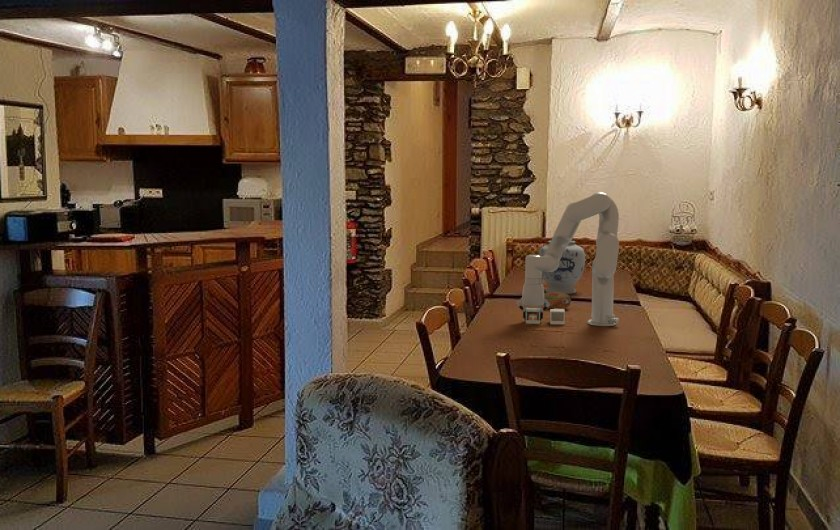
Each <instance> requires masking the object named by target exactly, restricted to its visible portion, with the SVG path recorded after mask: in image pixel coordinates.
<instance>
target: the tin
mask: <svg viewBox="0 0 840 530" xmlns="http://www.w3.org/2000/svg"><path fill="white" fill-rule="evenodd" d="M544 298H545V299H546V300H547V301H548V302H549V303H550V306H549V307H548V308H547V309H549V308H554V309H564V310H566V309H568V308H569V307H570V306H571V303H572V298H571V297H570V294H566V293H554V292H544ZM544 306H546V303H545V302H544V305H543V306H542V307H544Z"/></svg>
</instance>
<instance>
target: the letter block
mask: <svg viewBox="0 0 840 530" xmlns="http://www.w3.org/2000/svg"><path fill="white" fill-rule="evenodd" d="M529 320H537V313H529Z"/></svg>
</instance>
